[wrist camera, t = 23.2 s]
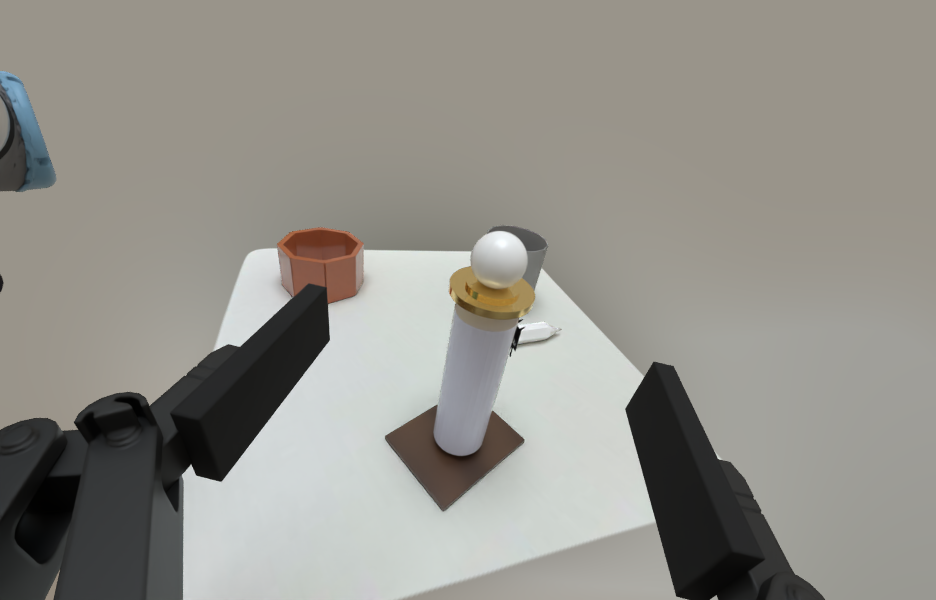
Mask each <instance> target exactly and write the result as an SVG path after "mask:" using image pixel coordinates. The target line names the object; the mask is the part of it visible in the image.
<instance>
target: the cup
mask: <svg viewBox="0 0 936 600" xmlns="http://www.w3.org/2000/svg"><path fill="white" fill-rule="evenodd" d="M494 231H505V232H509V233H511V234H513V235H515V236H516V237H518V238H519V239H520V240H521V242H522V243H523V244H524V246H525V248H526V251H527V256H528V263H527V268H526V271H525V273H524V275H523V276H522V279H524V280H525V281H526V282H528V283H529V284H530V285H531V287H532V288H533V290H535V287H536V283H537V280H538V277H539V274H540V270H541V267H542V264H543V261H544V257H545V254H546V251H547V248H548V244H547V241H546V239H544V238H543V237H542V236H540V235H539V234H537V233H535V232H533V231H530V230H528V229H524V228H520V227H516V226H506V225H501V226H495V227H492V228H490V229H489V230H488V231H487V234H488V233H490V232H494Z"/></svg>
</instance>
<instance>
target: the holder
mask: <svg viewBox="0 0 936 600" xmlns="http://www.w3.org/2000/svg"><path fill="white" fill-rule="evenodd" d="M363 245H364V244H363V243H362V242H361V241H360V240H359V239H357V238H356V237H355V236H353V235H352V234H351V233H350V232H347V231H340V230H334V229H328V228H319V227H318V228H312V229H305V230H299V231H292V232H290V233H289V234H288V235H286V236H285V237H284V238H283V239H282V240H281V241H280V242H279V243H277V248H278V256H279V263H280V271H281V278H282V285H283V286H284V287H285V288H286V290H287V291H288V292H289V293H290V294H291V295H292V297H294V296H295V295H296V294H297V293H299V292H300V291H301V290H302V289H303V288H304V287H305V286H306V285H307V284H308V283H310V284H314V285H319V286H323V287H327V298H328V304H329V303H332V302H335V301H339V300H342V299H345V298H349V297H352V296H355V295H356V294H357V292H358V290H359V288H360V286H361V284H362V282H363V252H364V247H363Z"/></svg>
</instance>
